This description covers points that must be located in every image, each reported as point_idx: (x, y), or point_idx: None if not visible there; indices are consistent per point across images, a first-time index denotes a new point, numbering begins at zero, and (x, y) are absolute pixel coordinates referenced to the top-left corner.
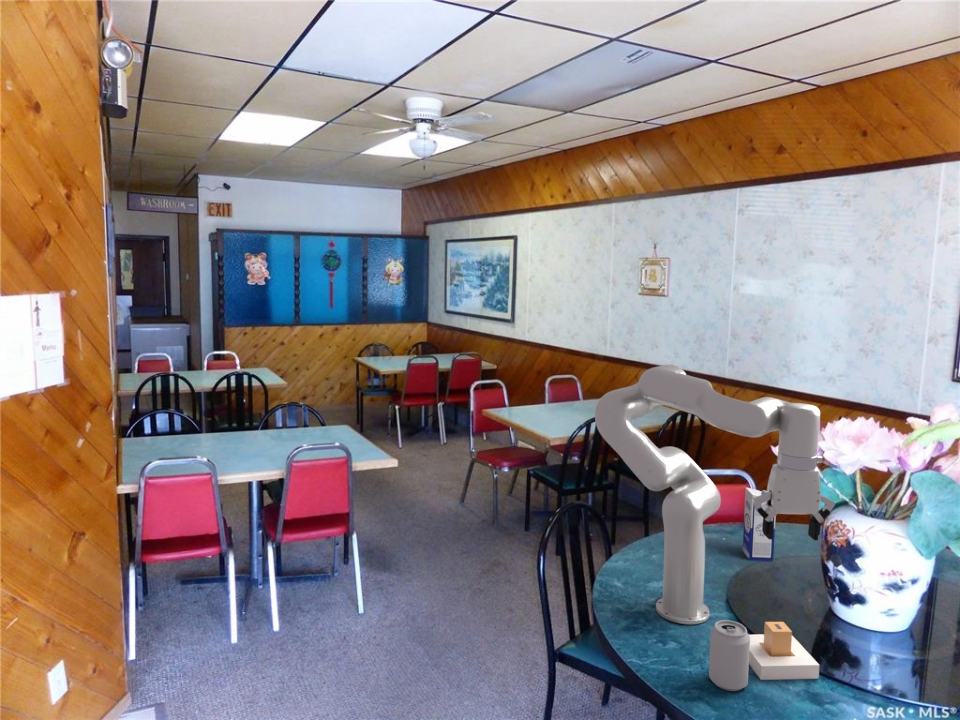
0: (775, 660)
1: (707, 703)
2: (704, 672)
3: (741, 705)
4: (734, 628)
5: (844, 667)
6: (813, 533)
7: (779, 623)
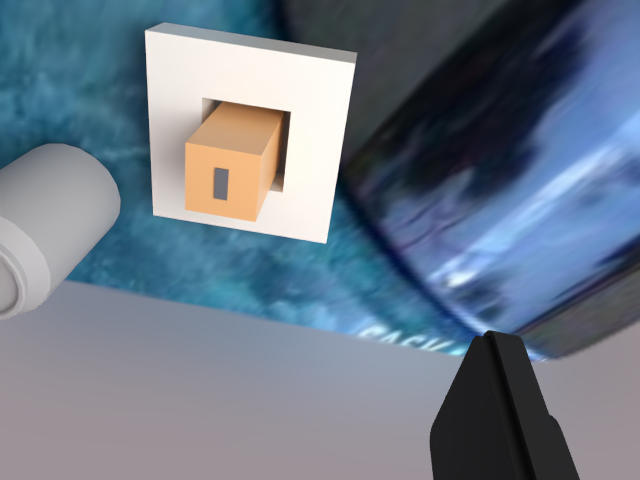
0: None
1: None
2: (21, 134)
3: (83, 266)
4: (17, 219)
5: (445, 192)
6: (444, 473)
7: (238, 164)
